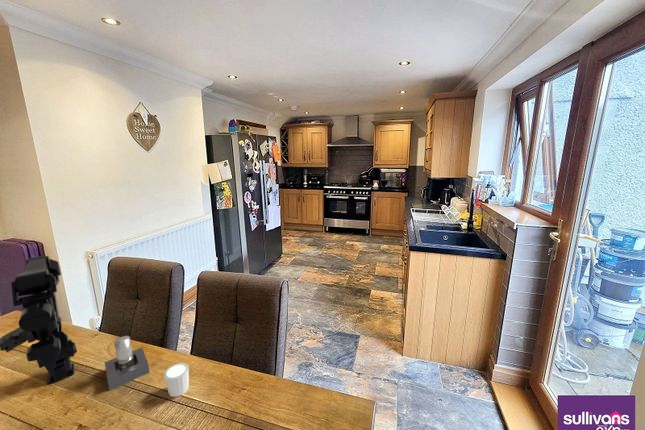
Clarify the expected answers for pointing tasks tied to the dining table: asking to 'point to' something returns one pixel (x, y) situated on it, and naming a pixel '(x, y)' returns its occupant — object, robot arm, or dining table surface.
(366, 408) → the dining table surface
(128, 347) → the grey rounded cylinder
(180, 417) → the dining table surface
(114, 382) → the collar block
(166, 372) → the white cylinder
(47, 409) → the dining table surface
